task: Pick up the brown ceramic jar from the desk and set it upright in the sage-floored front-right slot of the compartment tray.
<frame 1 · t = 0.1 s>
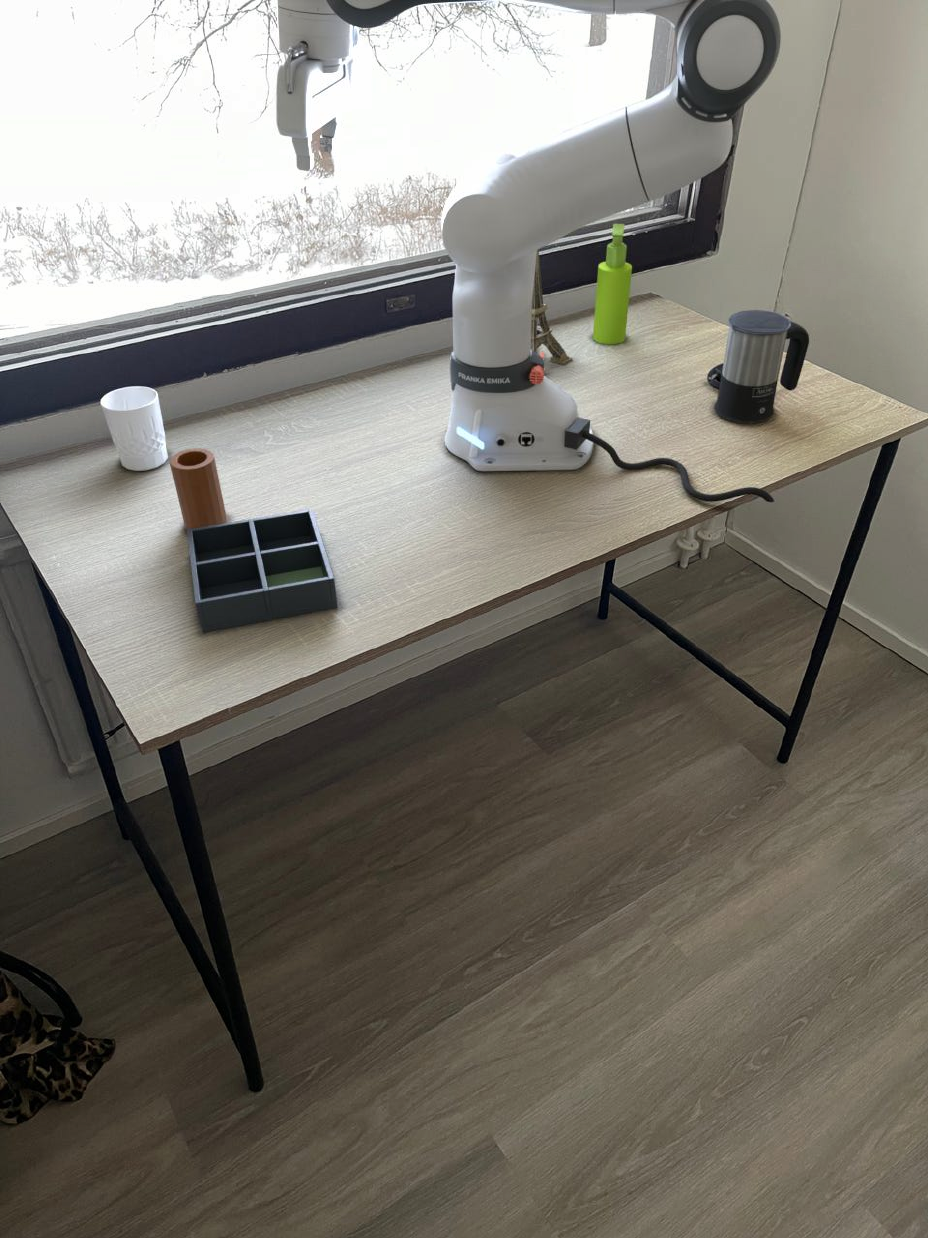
hand: (316, 159, 122), 39 cm above the table, tool pointing down, fingers open, 8 cm apart
eiffel tower: (530, 362, 165), on the table
jar: (206, 524, 126), on the table
compartment tray: (262, 581, 116), on the table
white cup: (145, 461, 140), on the table
milk frother: (735, 401, 153), on the table
soap dispenser: (608, 340, 173), on the table
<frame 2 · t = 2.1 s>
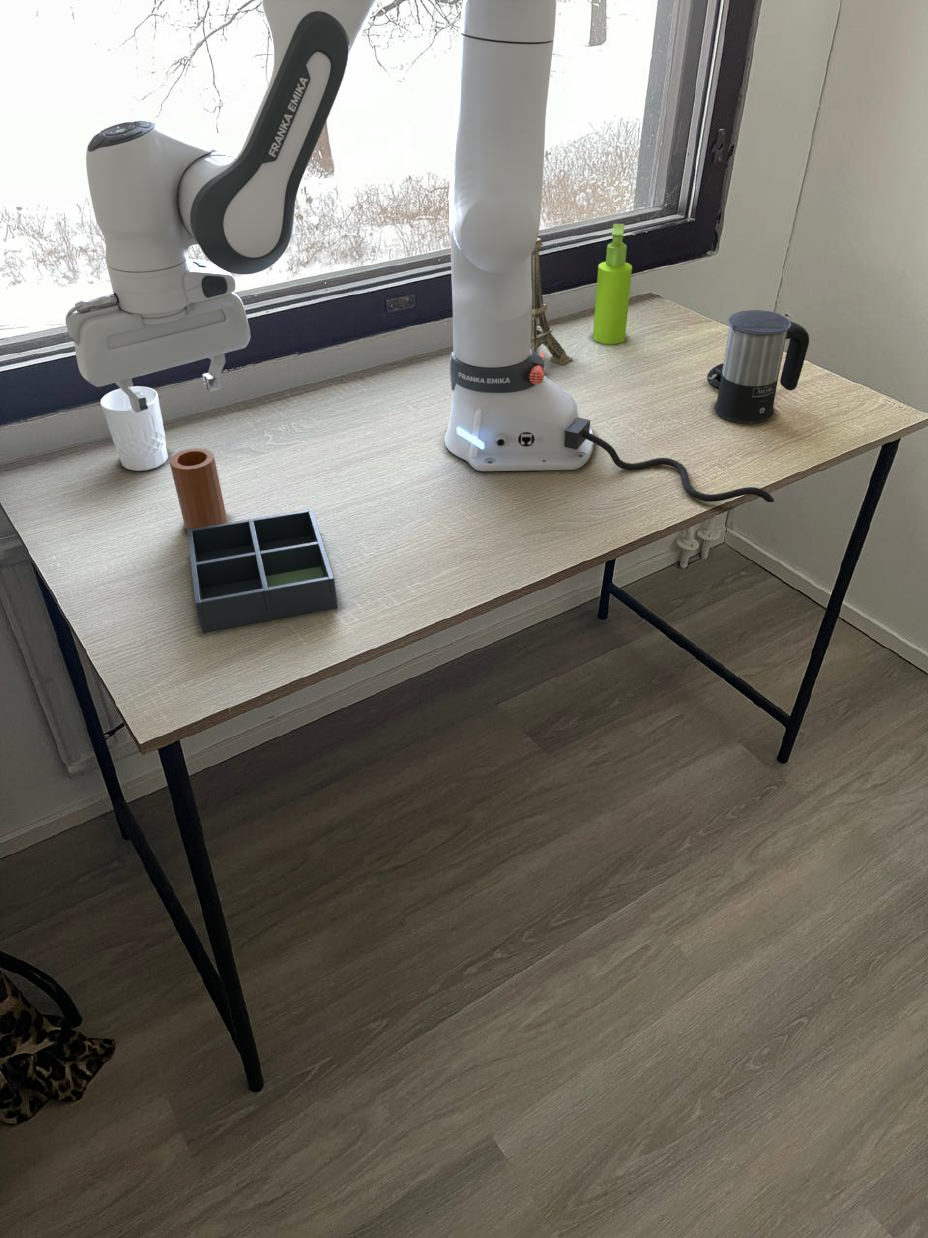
hand: (177, 398, 114), 18 cm above the table, tool pointing down, fingers open, 8 cm apart
nothing on the table moved.
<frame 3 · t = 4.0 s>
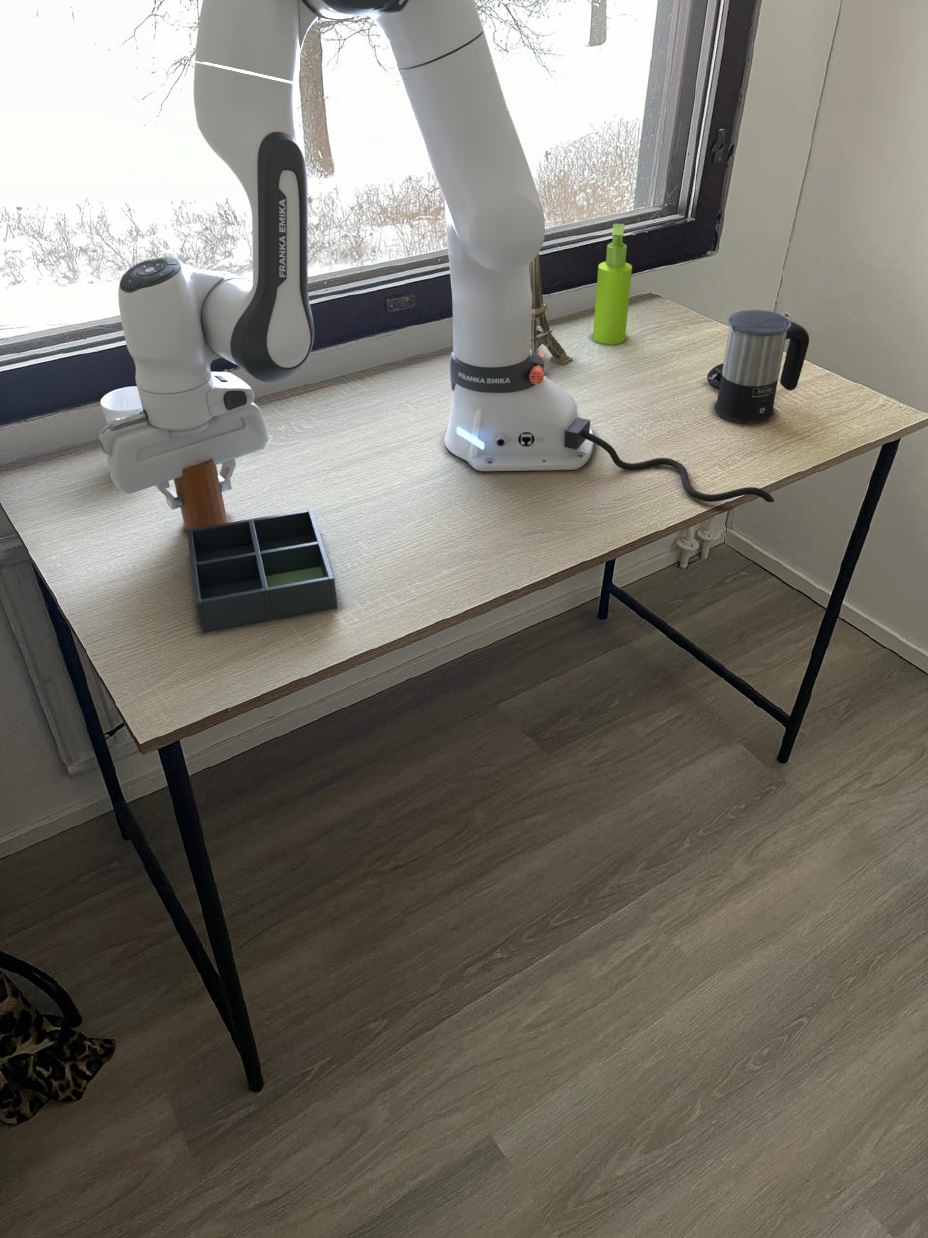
hand: (200, 497, 123), 4 cm above the table, tool pointing down, fingers closed on jar, 5 cm apart
jar: (206, 524, 126), on the table, touching gripper
everything else where it was.
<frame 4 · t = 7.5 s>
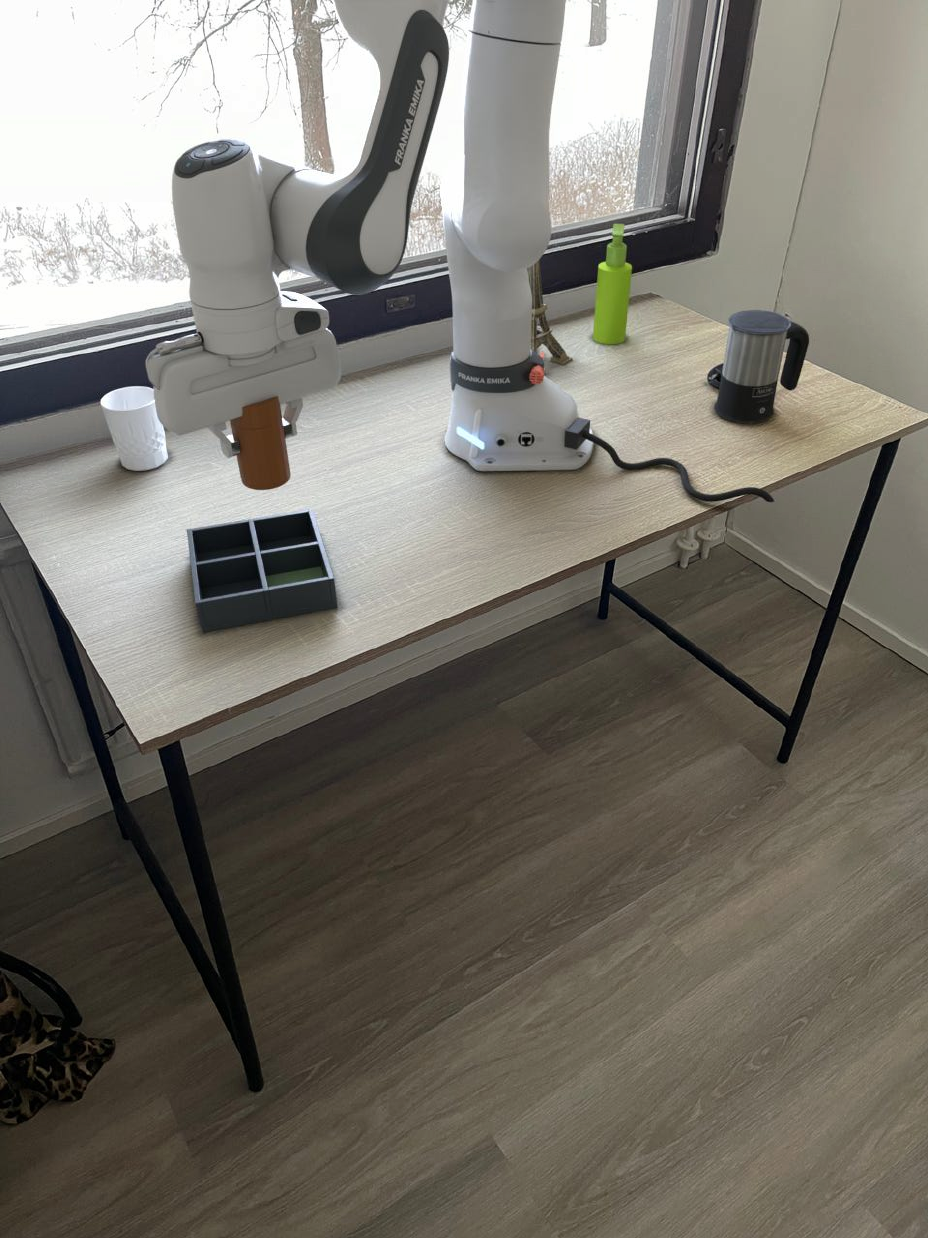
hand: (260, 444, 103), 19 cm above the table, tool pointing down, fingers closed on jar, 5 cm apart
jar: (266, 477, 106), point 15 cm above the table, touching gripper
everything else where it was.
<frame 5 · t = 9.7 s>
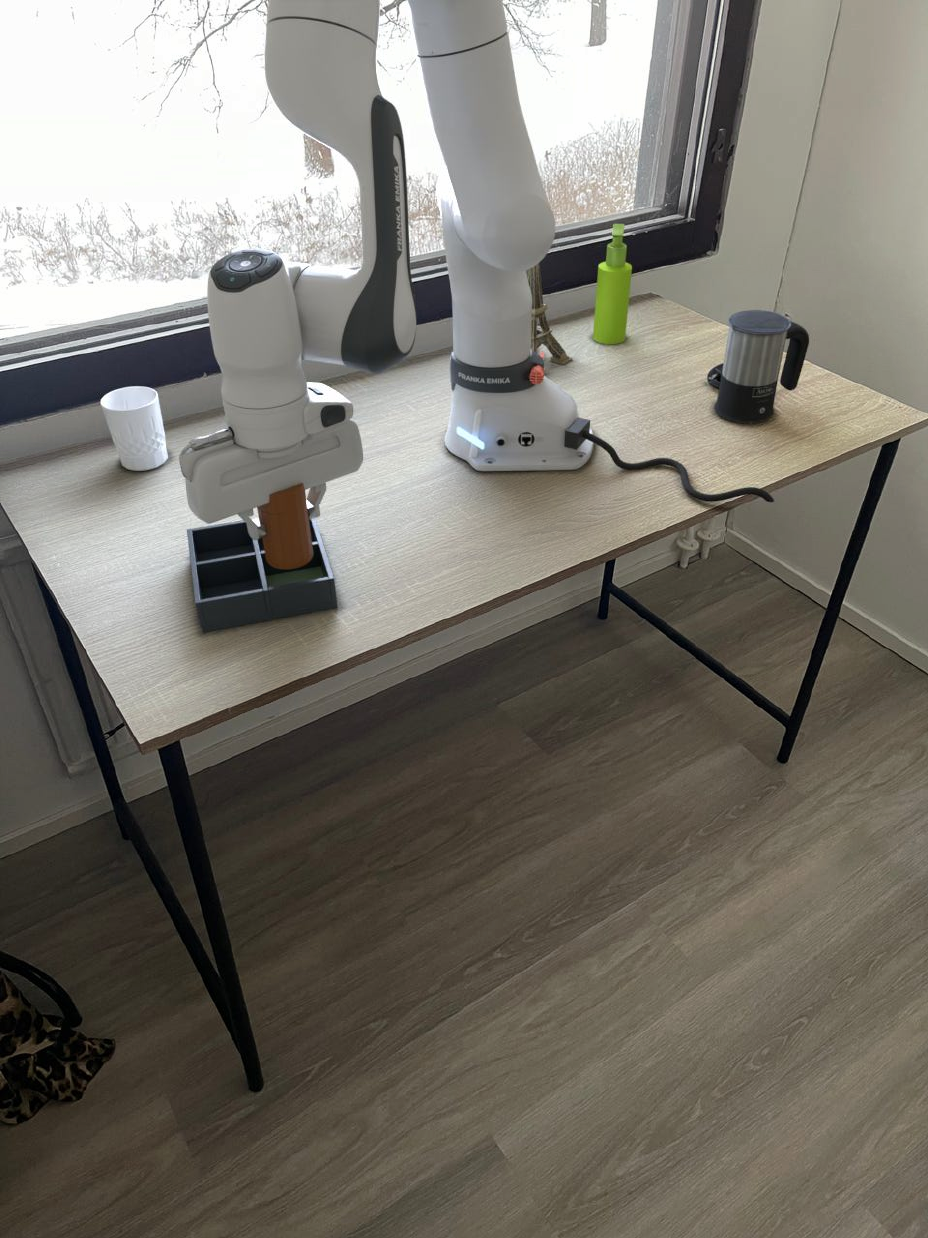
hand: (285, 526, 107), 10 cm above the table, tool pointing down, fingers closed on jar, 5 cm apart
jar: (289, 556, 110), point 6 cm above the table, touching gripper
everything else where it was.
when the fingers open (5 cm above the table, at t = 11.3 s): jar stays where it is, resting on compartment tray.
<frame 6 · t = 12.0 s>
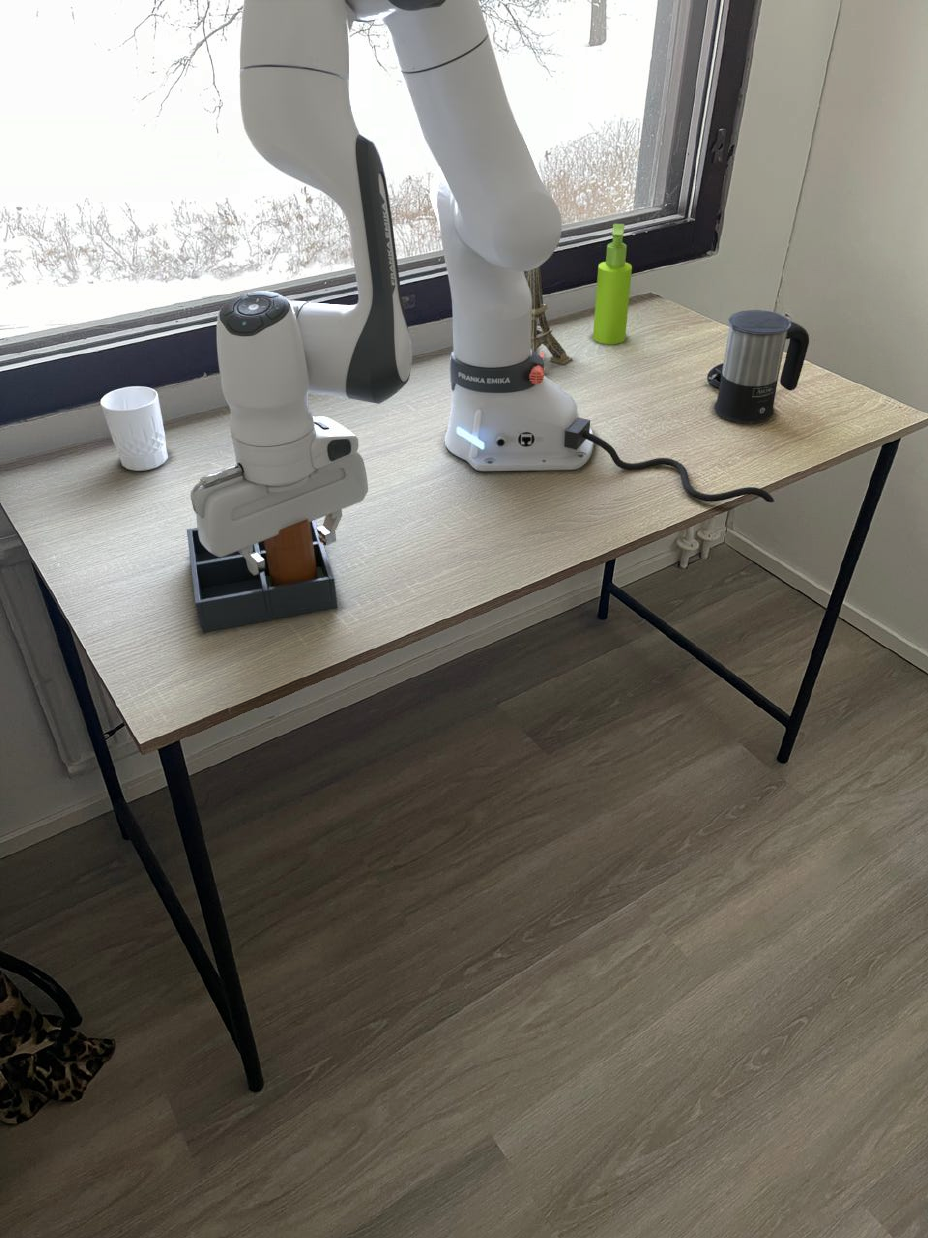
hand: (293, 556, 110), 6 cm above the table, tool pointing down, fingers open, 8 cm apart
jar: (295, 587, 113), point 1 cm above the table, touching compartment tray
everything else where it was.
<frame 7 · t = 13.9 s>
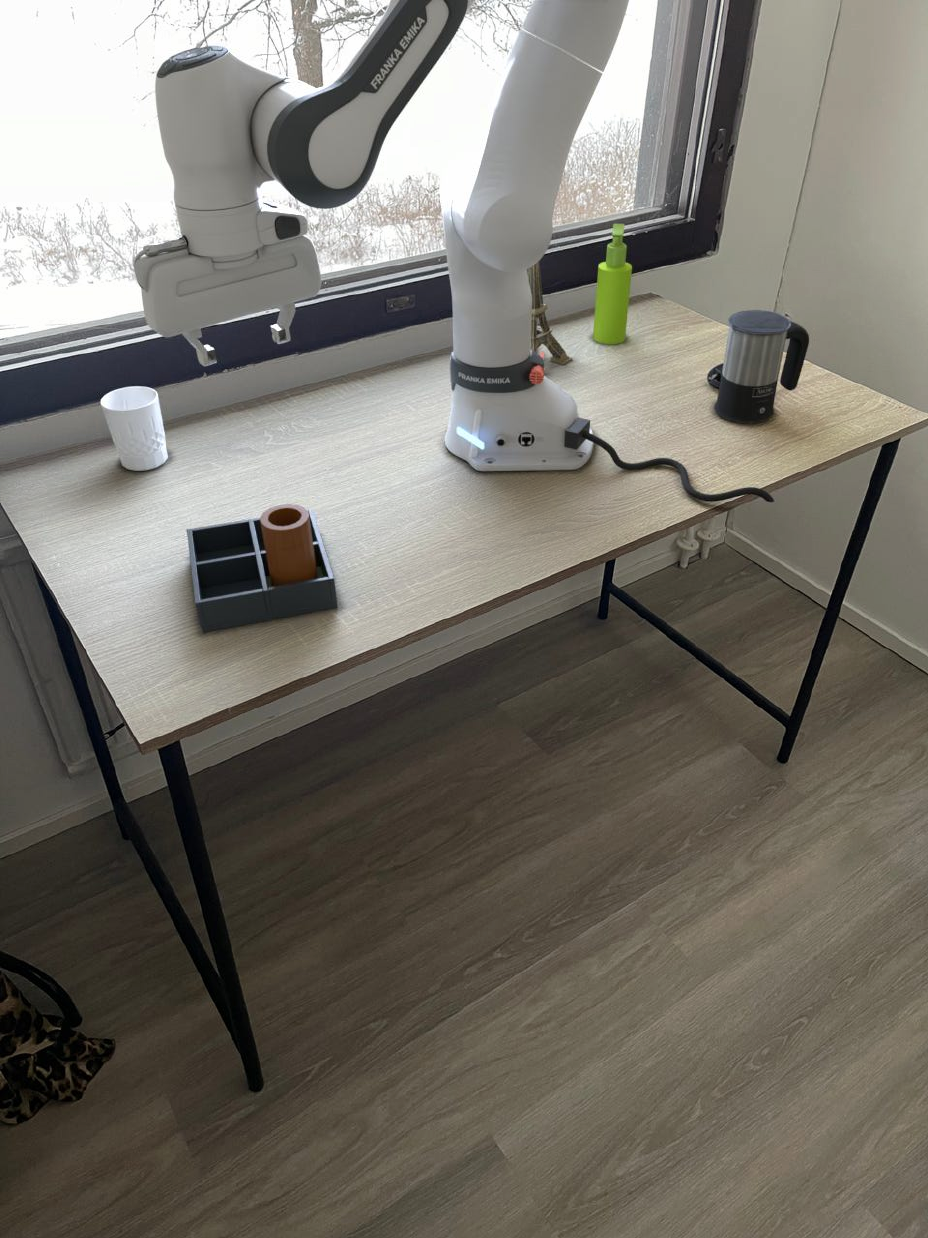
hand: (245, 352, 108), 25 cm above the table, tool pointing down, fingers open, 8 cm apart
nothing on the table moved.
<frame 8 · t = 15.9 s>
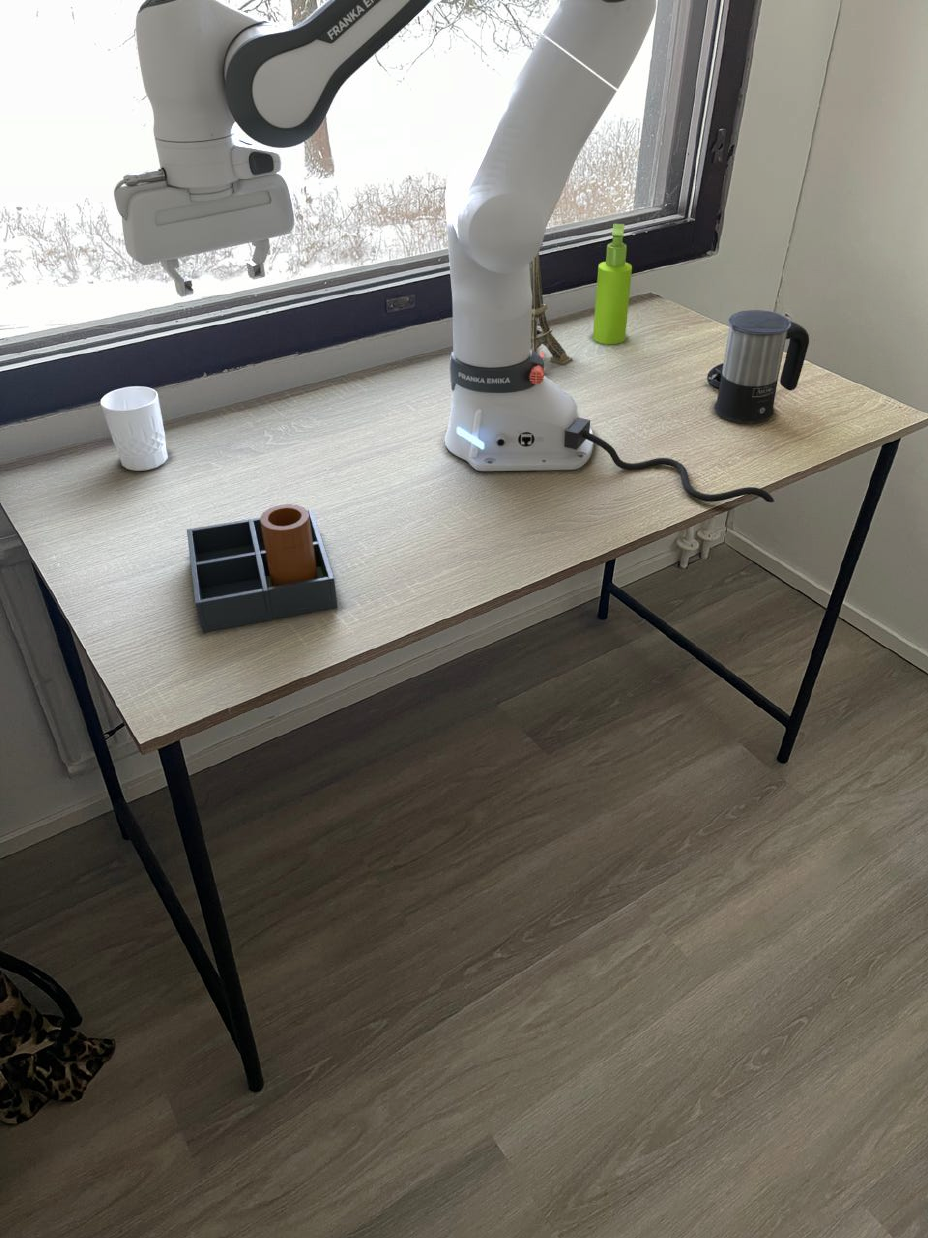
hand: (221, 285, 114), 29 cm above the table, tool pointing down, fingers open, 8 cm apart
nothing on the table moved.
at the end: jar 0.2 cm from the target spot in the compartment tray, point 1.0 cm above the compartment tray's base; jar tilted 0°; the gripper is holding nothing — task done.
